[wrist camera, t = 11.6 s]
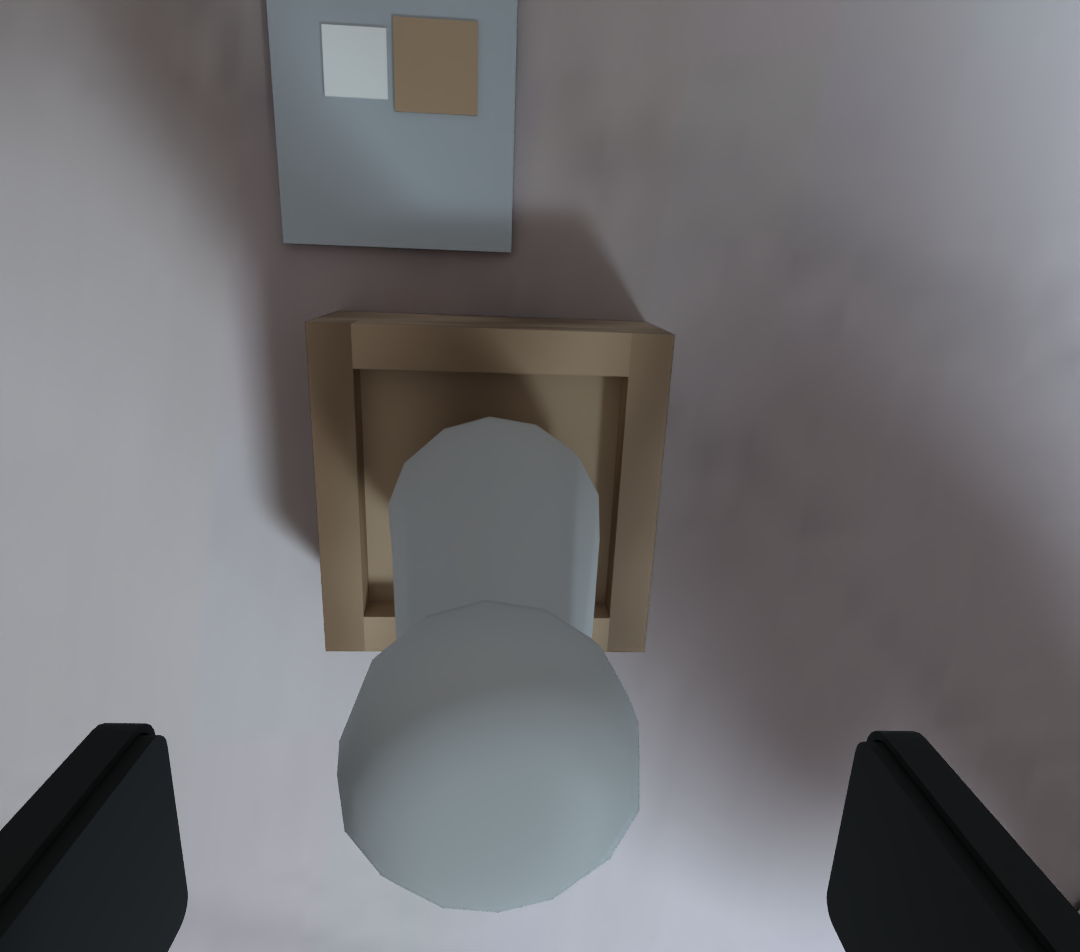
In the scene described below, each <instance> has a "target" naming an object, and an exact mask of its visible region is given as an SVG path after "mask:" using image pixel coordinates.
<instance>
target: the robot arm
mask: <svg viewBox="0 0 1080 952" xmlns="http://www.w3.org/2000/svg"><path fill="white" fill-rule="evenodd" d="M187 900H188V891H187V884H186V876H185V869H184V862H183V855H182V847H181V840H180V833H179V826H178V819H177V811H176V804H175V797H174V790H173V782H172V775H171V768H170V761H169V753H168V746H167V742H166V739H165V738H164V736H161V735H155V732H154V729H153V728H152V726H151V725H149V724H140V723H104V724H100V725H98V726H97V727H96V728H95V729H93V730H92V731H91V732H90V734H89V735H88V736H87V737H86V738H85V739H84V740H83V741H82V742H81V743H80V744H79V746H78V747H77V748H76V749H75V750H74V751H73V752H72V753H71V754H70V755H69V756H68V758H67V759H66V760H65V761H64V762H63V763H62V764H61V765H60V766H59V767H58V768H57V770H56V771H55V772H54V773H53V774H52V775H51V776H50V777H49V778H48V779H47V780H46V782H45V783H44V784H43V785H42V786H41V787H40V788H39V789H38V790H37V791H36V792H35V794H34V795H33V796H32V797H31V798H30V799H29V800H28V801H27V802H26V803H25V804H24V806H23V807H22V808H21V809H20V810H19V811H18V812H17V813H16V814H15V815H14V816H13V818H12V819H11V820H10V821H9V822H8V823H7V824H6V825H5V826H4V827H3V829H2V830H1V831H0V952H168V950H169V948H170V946H171V945H172V943H173V941H174V939H175V937H176V935H177V933H178V931H179V929H180V927H181V924H182V922H183V919H184V916H185V912H186V907H187ZM827 906H828V912H829V916H830V919H831V922H832V924H833V927H834V929H835V931H836V933H837V935H838V937H839V939H840V941H841V943H842V945H843V947H844V949H845V951H846V952H1080V909H1079V910H1078V911H1076V910H1075V908H1074V907H1073V906H1072V905H1071V904H1070V903H1069V902H1068V900H1067V899H1066V898H1065V897H1064V896H1063V895H1062V894H1061V892H1060V891H1059V890H1058V889H1057V888H1056V887H1055V886H1054V885H1053V883H1052V882H1051V881H1050V880H1049V879H1048V878H1047V877H1046V875H1045V874H1044V873H1043V872H1042V871H1041V870H1040V869H1039V867H1038V866H1037V865H1036V864H1035V863H1034V862H1033V861H1032V859H1031V858H1030V857H1029V856H1028V855H1027V854H1026V853H1025V851H1024V850H1023V849H1022V848H1021V847H1020V846H1019V845H1018V843H1017V842H1016V841H1015V840H1014V839H1013V838H1012V837H1011V835H1010V834H1009V833H1008V832H1007V831H1006V830H1005V829H1004V827H1003V826H1002V825H1001V824H1000V823H999V822H998V821H997V819H996V818H995V817H994V816H993V815H992V814H991V813H990V811H989V810H988V809H987V808H986V807H985V806H984V805H983V803H982V802H981V801H980V800H979V799H978V798H977V797H976V796H975V794H974V793H973V792H972V791H971V790H970V789H969V788H968V786H967V785H966V784H965V783H964V782H963V781H962V780H961V778H960V777H959V776H958V775H957V774H956V773H955V772H954V770H953V769H952V768H951V767H950V766H949V765H948V764H947V762H946V761H945V760H944V759H943V758H942V757H941V756H940V754H939V753H938V752H937V751H936V750H935V749H934V748H933V746H932V745H931V744H930V743H929V742H928V741H927V740H926V738H924V737H923V736H922V735H921V734H920V733H917V732H914V731H874V732H872V733H871V734H870V735H869V736H868V739H867V742H861V743H859V744H858V746H857V748H856V751H855V756H854V761H853V766H852V770H851V775H850V780H849V785H848V790H847V795H846V800H845V805H844V810H843V815H842V820H841V825H840V830H839V835H838V840H837V845H836V850H835V855H834V860H833V865H832V870H831V875H830V880H829V885H828V890H827Z"/></svg>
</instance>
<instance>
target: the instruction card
mask: <svg viewBox="0 0 1080 952" xmlns="http://www.w3.org/2000/svg"><path fill="white" fill-rule="evenodd" d="M517 2H518V0H266V5H267V19H268V33H269V47H270V62H271V76H272V90H273V105H274V119H275V133H276V147H277V162H278V176H279V190H280V205H281V219H282V233H283V243H292V244H316V245H340V246H365V247H389V248H413V249H437V250H462V251H486V252H510V253H511V242H512V202H513V162H514V122H515V82H516V42H517Z"/></svg>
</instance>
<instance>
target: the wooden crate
mask: <svg viewBox="0 0 1080 952" xmlns="http://www.w3.org/2000/svg"><path fill="white" fill-rule="evenodd" d="M305 330H306V346H307V362H308V377H309V393H310V409H311V425H312V441H313V457H314V473H315V488H316V504H317V520H318V536H319V552H320V568H321V584H322V600H323V615H324V631H325V647H326V651H383V650H385V649H386V648H387V647H388V646H390V645H391V644H392V643H393V642H395V641H396V624H395V604H394V584H393V564H392V547H391V536H390V526H389V515H388V504H389V501H390V499H391V496H392V493H393V491H394V488H395V486H396V483H397V481H398V478H399V476H400V473H401V470H402V468H403V465H404V463H405V462H406V461H407V460H409V459H410V458H411V457H412V456H413V455H414V454H416V453H417V452H418V451H419V450H420V449H421V448H423V447H424V446H425V445H426V444H427V443H428V442H429V441H431V440H432V439H433V438H434V437H435V436H436V435H438V434H439V433H440V432H441V431H442V430H443V429H445V428H449V427H452V426H456V425H460V424H463V423H467V422H471V421H475V420H478V419H482V418H486V417H489V416H490V417H496V418H502V419H507V420H513V421H519V422H524V423H530V424H536V425H537V426H539V427H540V428H542V429H543V430H544V431H546V432H547V433H549V434H550V435H551V436H553V437H554V438H556V439H557V440H558V441H560V442H561V443H563V444H564V445H565V446H567V447H568V448H570V449H571V450H573V451H574V452H575V453H576V454H577V455H578V456H579V458H580V460H581V462H582V464H583V466H584V468H585V470H586V472H587V474H588V476H589V478H590V479H591V481H592V483H593V485H594V487H595V489H596V491H597V493H598V495H599V535H600V541H599V554H598V567H597V580H596V593H595V605H594V618H593V631H592V639H593V640H594V641H595V642H596V643H597V644H599V645H600V646H601V648H602V649H603V651H604V652H644V649H645V639H646V629H647V618H648V608H649V598H650V587H651V577H652V567H653V556H654V546H655V536H656V525H657V515H658V505H659V494H660V484H661V474H662V463H663V453H664V443H665V432H666V422H667V412H668V401H669V391H670V381H671V370H672V360H673V350H674V339H675V335H674V334H672V333H670V332H668V331H665V330H663V329H661V328H659V327H656V326H654V325H652V324H650V323H647V322H642V321H614V320H585V319H557V318H528V317H500V316H471V315H443V314H414V313H385V312H357V311H336V312H333V313H331V314H328V315H325V316H322V317H319V318H316V319H313V320H310V321H307V322H305Z"/></svg>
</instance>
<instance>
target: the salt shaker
mask: <svg viewBox="0 0 1080 952" xmlns="http://www.w3.org/2000/svg"><path fill="white" fill-rule="evenodd" d="M388 515H389V526H390V536H391V547H392V564H393V584H394V604H395V624H396V641H395V642H393V643H392V644H391V645H390V646H388V647H387V648H386V649H385V650H383V651H382V652H381V653H380V654H379V655H378V656H377V657H375V658H374V659H373V660H372V662H371V665H370V667H369V670H368V672H367V675H366V677H365V679H364V682H363V684H362V687H361V689H360V692H359V694H358V697H357V699H356V701H355V704H354V706H353V709H352V711H351V714H350V716H349V719H348V721H347V724H346V726H345V729H344V731H343V734H342V736H341V738H340V741H339V755H338V771H337V778H338V785H339V792H340V800H341V807H342V815H343V822H344V829H345V832H346V833H347V834H348V835H349V837H350V838H351V839H352V840H353V842H354V843H355V844H356V845H357V846H358V848H359V849H360V850H361V851H362V853H363V854H364V855H365V856H366V857H367V859H368V860H369V861H370V862H371V864H372V865H373V866H374V867H375V868H376V870H377V871H378V872H379V873H380V875H381V876H383V877H385V878H386V879H388V880H390V881H392V882H393V883H395V884H397V885H399V886H401V887H403V888H405V889H407V890H409V891H411V892H413V893H415V894H417V895H418V896H420V897H422V898H424V899H426V900H428V901H430V902H432V903H434V904H436V905H438V906H440V907H442V908H452V909H463V910H475V911H487V912H502V911H506V910H510V909H514V908H518V907H523V906H527V905H531V904H535V903H539V902H543V901H547V900H551V899H553V898H555V897H557V896H558V895H560V894H561V893H563V892H564V891H565V890H567V889H568V888H570V887H571V886H572V885H574V884H575V883H577V882H578V881H579V880H581V879H582V878H584V877H585V876H586V875H588V874H589V873H591V872H592V871H593V870H595V869H596V868H598V867H599V866H600V865H602V864H603V863H605V862H606V861H607V860H609V859H610V858H611V856H612V854H613V853H614V851H615V849H616V848H617V846H618V845H619V843H620V841H621V840H622V838H623V836H624V835H625V833H626V831H627V830H628V828H629V826H630V825H631V823H632V821H633V820H634V818H635V816H636V815H637V813H638V811H639V734H638V720H637V718H636V715H635V713H634V710H633V707H632V705H631V702H630V700H629V697H628V695H627V693H626V691H625V689H624V687H623V686H622V684H621V682H620V680H619V678H618V677H617V675H616V673H615V671H614V669H613V668H612V666H611V664H610V662H609V660H608V658H607V657H606V655H605V653H604V651H603V649H602V648H601V646H600V645H599V644H597V643H596V642H595V641H594V640H593V639H592V631H593V618H594V605H595V593H596V580H597V567H598V554H599V541H600V535H599V495H598V493H597V491H596V489H595V487H594V485H593V483H592V481H591V479H590V478H589V476H588V474H587V472H586V470H585V468H584V466H583V464H582V462H581V460H580V458H579V456H578V455H577V454H576V453H575V452H574V451H573V450H571V449H570V448H568V447H567V446H565V445H564V444H563V443H561V442H560V441H558V440H557V439H556V438H554V437H553V436H551V435H550V434H549V433H547V432H546V431H544V430H543V429H542V428H540V427H539V426H537V425H536V424H530V423H524V422H519V421H513V420H507V419H502V418H496V417H490V416H489V417H486V418H482V419H478V420H475V421H471V422H467V423H463V424H460V425H456V426H452V427H449V428H445V429H443V430H442V431H441V432H440V433H439V434H438V435H436V436H435V437H434V438H433V439H432V440H431V441H429V442H428V443H427V444H426V445H425V446H424V447H423V448H421V449H420V450H419V451H418V452H417V453H416V454H414V455H413V456H412V457H411V458H410V459H409V460H407V461H406V462H405V463H404V465H403V468H402V470H401V473H400V476H399V478H398V481H397V483H396V486H395V488H394V491H393V493H392V496H391V499H390V501H389V504H388Z"/></svg>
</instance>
